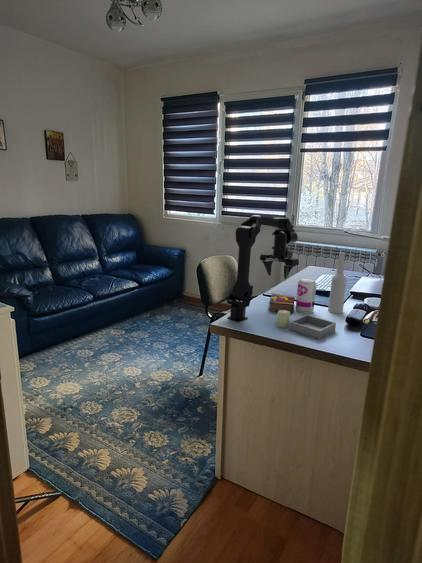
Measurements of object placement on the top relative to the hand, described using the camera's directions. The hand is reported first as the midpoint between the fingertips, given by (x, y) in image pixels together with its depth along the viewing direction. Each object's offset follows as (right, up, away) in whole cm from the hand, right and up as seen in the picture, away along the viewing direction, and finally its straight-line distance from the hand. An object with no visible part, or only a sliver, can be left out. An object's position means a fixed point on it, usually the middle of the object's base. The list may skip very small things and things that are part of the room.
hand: (277, 277), depth 171 cm
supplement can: (+12, -16, -2) cm, 20 cm away
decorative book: (+2, -15, +2) cm, 15 cm away
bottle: (+27, -16, -2) cm, 32 cm away
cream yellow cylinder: (-2, -20, -22) cm, 30 cm away
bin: (+9, -22, -26) cm, 35 cm away
